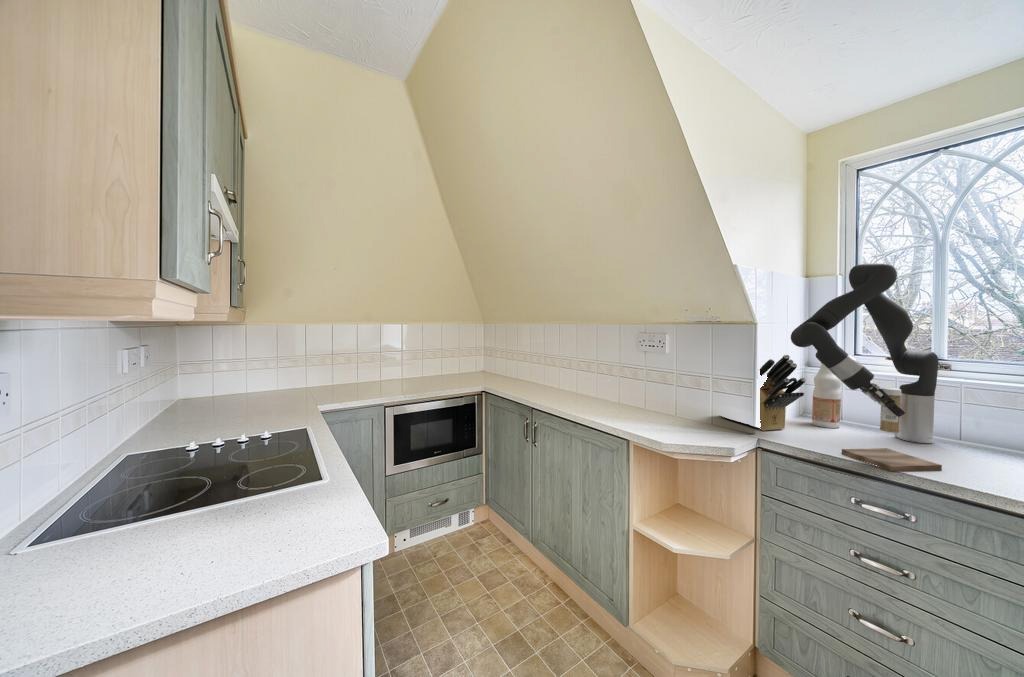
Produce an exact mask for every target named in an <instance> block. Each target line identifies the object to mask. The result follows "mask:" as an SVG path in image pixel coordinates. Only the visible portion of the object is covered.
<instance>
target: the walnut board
mask: <svg viewBox="0 0 1024 677" xmlns="http://www.w3.org/2000/svg"><path fill="white" fill-rule="evenodd" d="M841 454H842V455H844V456H847V457H850V458H853V457H854V458H853V459H855V458H856V460H858V459H859V461H861V460H862V461H861V462H864V461H865V462H864V463H867V462H868V463H867V464H869V463H871V464H870V465H872V464H874V465H873V466H875V465H877V466H876V467H878V466H879V468H881V467H882V468H881V469H883V468H884V469H883V470H887V471H889V472H924V471H925V470H926V471H928V472H929V470H931V471H942V470H943V469H942V468H943V464H939V463H935V462H932V461H931V460H930V461H929V460H926V459H923V458H919V457H917V456H912V455H910V454H906V453H903V452H900V451H897V450H895V449H894V450H893V449H890V448H886V447H884V448H882V447H881V448H880V447H876V448H841ZM926 471H925V472H926Z"/></svg>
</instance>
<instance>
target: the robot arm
mask: <svg viewBox="0 0 1024 677" xmlns="http://www.w3.org/2000/svg"><path fill="white" fill-rule="evenodd" d="M897 278H898V271H897V268H896V267H895V266H894V265H893V264H889V263H861V264H856V265H854V266H853V267H852V268H851V269H850V270H849V273H848V281H849V284H850V287H851V288H852V290H850V291H848V292H846V293H844V294H842V295H839V296H837V297H835V298H832V299H831V300H829V301H828V302H826V303H825V304H824V305H823V306H821V307H820V308H819V309H818V310H817V311H815V313H813V315H812V316H810V317H809V318H808V319H806V320H805V321H804V322H802V323H801V324H799V325H798V326H797V327H796V328H794V329H793V330H792V331H791V333H790V340H791V343H792V344H793V345H794V346H796V347H798V348H808V347H811V346H812V347H814V349H815V350H816V352H815V357H816V359H817V360H818V361H819V362H820V364H821V363H822V364H824V365H825V366H826V367H827V368H828V369H829V370H830V371H831V372H832V373H833V374H834V375H835V376H836V377H837V378H838V379H839V380H841V383H843V384H844V385H845V386H846V387H848V389H850V390H852V391H855V390H860V391H861V393H863V394H864V395H865V396H867V397H869V398H870V399H871V400H872V401H874V402H875V403H877V404H878V405H879V406H881V403H882V404H883V405H884V406H885V407H887V408H888V409H889V410H890V411H891V412H893V413H894V414H895V415H896V416H898V417H900V422H899V432H898V433H894V437H895V438H896V437H897V438H898V439H901V440H903V441H907V442H912V443H919V444H920V443H921V444H933V443H934V442H933V440H934V421H935V420H934V419H935V418H934V417H935V396H936V394H935V393H936V389H937V383H938V381H937V380H938V375H939V374H938V373H939V366H940V364H939V358H938V354H936V352H933V351H929V350H928V351H927V350H926V351H925V350H910V349H908V348H907V347H906V345H905V343H906V342H907V339H908V338H909V337H910V335H911V334H912V332H913V330H914V323H913V322H912V318H911V317H910V315H909V312H908V311H907V309H906V308H905V307H903V306H902V305H901V304H899V303H898V302H897V301H895V300H893V298H890V297H889V296H887V295H886V293H885V292H886V291H888V290H889V289H890V288H891V287H892V286H894V284H895V282H896V281H897ZM863 305H864V306H865V308H866V311H867V312H868V313H869V315H870V317H871V319H872V321H873V323H874V325H875V327H876V329H877V331H878V332H879V334H880V335H881V337H882V339H883V341H884V344H885V345H886V348H887V350H888V353H889V356H890V358H891V361H892V364H893V366H894V368H895V370H896V371H897V372H898V373H900V374H902V375H904V376H905V375H906V376H916V377H918V380H917V381H915V382H911V383H906V384H901V385H900V386H899V388H898V389H901V397H900V408H899V407H898V406H897V405H896V404H895V401H894V400H892V399H891V398H890V397H889V396H888V394H886V393H885V392H884V391H883V390H882V389H881V388H882V387H881V386H879V385H878V384H875V383H871V381H872V380H873V379H874V378H875V374H874V373H873V372H872V371H870V370H869V369H867V367H865V365H863V364H862V363H861V362H860V361H858V359H856V358H855V357H853V356H852V355H850V354H848V353H847V352H846V351H845V350H844V349H843V348H841V346H839V345H838V344H837V343H836V341H835V339H834V338H833V337H832V335H831V334H830V333H829V331H831V330H832V329H834V328H835V327H836V326H838V324H840V323H841V322H842V321H843V320H844V319H846V318H847V316H849V315H850V314H851V313H853V312H854V311H855V310H857V309H858V308H860V307H862V306H863ZM887 399H888V400H889V401H888V402H887V403H885V402H884V401H885V400H887Z"/></svg>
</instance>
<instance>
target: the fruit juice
mask: <svg viewBox="0 0 1024 677" xmlns="http://www.w3.org/2000/svg"><path fill="white" fill-rule="evenodd" d="M813 383H814V388H813V390H812V411H811V412H812V414H811V423H812V425H814V426H817V427H821V428H829V429H837V428H838V429H839V428H840V427H841V411H842V407H841V406H842V392H841V389H840V387H841V385H842V381H841V380H839V379H838V378H837V377H836V376H835V375H834V374H833V373H832V372H831V371H830V370H829V369H828V368H827V367H826V366H825V365H824V364H822V363H821V362H820V367H819V369H818V372H817V373H816V375H815V376H814V377H813Z"/></svg>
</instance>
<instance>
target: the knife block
mask: <svg viewBox="0 0 1024 677" xmlns="http://www.w3.org/2000/svg"><path fill="white" fill-rule="evenodd" d="M790 356H791V355H789V354H784V355H783V356H782V357H781V358H780V359H779V360H778V361H777V362H776V363H775V360H774V359H771V358H770V359H768V360H767V361H766V362H765V363H764V364H763V365H762V366H761V367H760V369H759V370H760V375H761V376H762V375H765V374H767V377H768V378H767V380H766V382H764V384H763V385H764V386H762V387H761V388H760V420H761V421H760V423H761V427H760V428H761V430H762V431H763V432H764V431H772V430H783V429H785V427H786V412H787V411H786V410H787V409H786V408H787V406H790V405H791V404H793V403H794V402H796V401H797V400H798V399H799V398H802V397H803V396H804V395H805V392H800V391H799V392H797V390H798V389H799V388H801V386H802V385H804V384H805V383H806V381H807V380H806V378H804V377H801V378H800V379H797V378H796V377H791V378H788V377H789V376H790V375H791V374H792V373H793V372H794V371H795V370H796V369H797V367H798V364H797V363H795V362H794V360H793V359H790V358H791V357H790ZM795 391H796V392H795ZM761 430H760V431H761Z"/></svg>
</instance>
